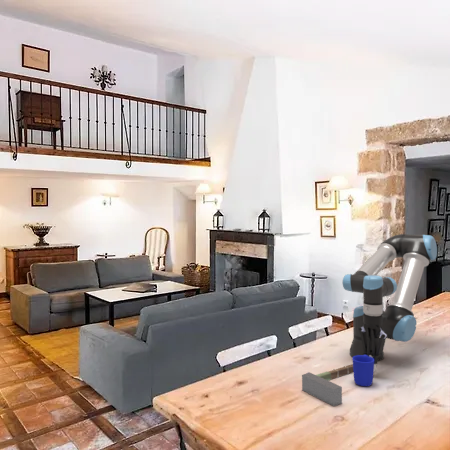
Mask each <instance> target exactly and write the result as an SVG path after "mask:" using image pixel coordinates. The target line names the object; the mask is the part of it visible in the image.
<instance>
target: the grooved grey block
mask: <svg viewBox="0 0 450 450" xmlns="http://www.w3.org/2000/svg"><path fill="white" fill-rule="evenodd" d="M301 390H302V391H303V392H305V393H306V394H308V395H311V396H312V397H315V398H316V399H318V400H319V401H322V402H324V403H326V404H328V405H331V406H332V407H336V406H339V405H341V404H343V387H342V386H341V385H339V384H337V383H334V382H332V381H331V380H325V379H323V378H321V377H319V376H317V374H314V373H312V372H307V373H304V374H301Z"/></svg>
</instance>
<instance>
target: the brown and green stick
mask: <svg viewBox="0 0 450 450" xmlns="http://www.w3.org/2000/svg"><path fill="white" fill-rule="evenodd" d="M352 373H353V374H354V372H353V363H352V364H348V365H344V366H342V367H338V368H336V369H335V368H333V370H332V369H331V370H328V371H324V372H321V373H318V374H316V375H317V376H319V377H321V378H323V379H325V380H328V381H331V380H333V379H338V378H340V377H343V376H346V375H349V374H352Z"/></svg>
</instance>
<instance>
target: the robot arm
mask: <svg viewBox="0 0 450 450" xmlns="http://www.w3.org/2000/svg"><path fill="white" fill-rule="evenodd" d="M437 255H438V246H437V242H436V239H435V237H434V236H432V235H429V234H406V233H400V234H399V233H398V234H396V235H392V236H391V237H388V238H387V239H385V240H383V242H381V243H380V244H379V245H378V246H377V248H376V251H375V252H374V253H373V254H372V255H371V256H370V257H369V258H368V259H367V260H366V261H365V262H364V263H363V264H362V265H361V266H360V267H359V268H358V269H357V270H356V271H355V273H354V274H351V273H350V274H349V273H348V274H345V275H344V277H342V288H343V289H344V290H345V291H348V292H352V293H360V294H363V295H362V296H363V297H362V298H363V301H362V302H363V304H362V305H359V306H356V307H355V308H354V309H353V314H352V320H353V323H352V324H353V327H352V328H353V330H352V332H353V337H352V338H353V339H352V341H351V345H350V347H349V356H350V357H352V358H353V357H354V356H357V355H367V356H369V357H372V358H373V359H374V371H373V373H375V372H377V364H378V363H379V361H382V360H384V357H385V353H384V348H385V343H386V339H387V340H393V341H396V342H405V343H406V342H409V341H410V340H411V339H412V338H413V337H414V335H415V332H416V331H417V319H416V316H415V314H414V312H413V311H412V310H413V306H414V302H415V300H416V296H417V293H418V289H419V286H420V282H421V280H422V276H423V273H424V270H425V267H428V266H429V264H430V261H435V260H436V259H437V257H438V256H437ZM396 258H398V259H399V258H403V260H404V263H403V267H402V271H401V273H400V277H399V280H398V282H397V281H396V280H395V279H394V278H392V277H390V276H389V277H386V276H384V277H382V276H381V275H378V274H380V272H381V271H382V270H383V269H384V268H385V267H386V265H388V264H389V262H392V261H394V260H395V259H396ZM397 283H398V284H397ZM392 294H394V295H393V299H392V302H391V304H388V305H387V306H386V309H385V310H384V308H383V307H384V306H383V305H384V304H383V303H384V302H383V301H384V299H383V298H385V297H387V296H388V297H389V296H392Z"/></svg>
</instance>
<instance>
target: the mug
mask: <svg viewBox="0 0 450 450" xmlns="http://www.w3.org/2000/svg"><path fill="white" fill-rule="evenodd" d="M351 361H352V364H353V381H354V383H355V384H356V385H358V386H361V387H370V386H372V384H373V380H374V372H375V371H374V359H373V358H372V357H369V356H367V355H357V356H354V357H352V360H351ZM373 371H374V372H373Z"/></svg>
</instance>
